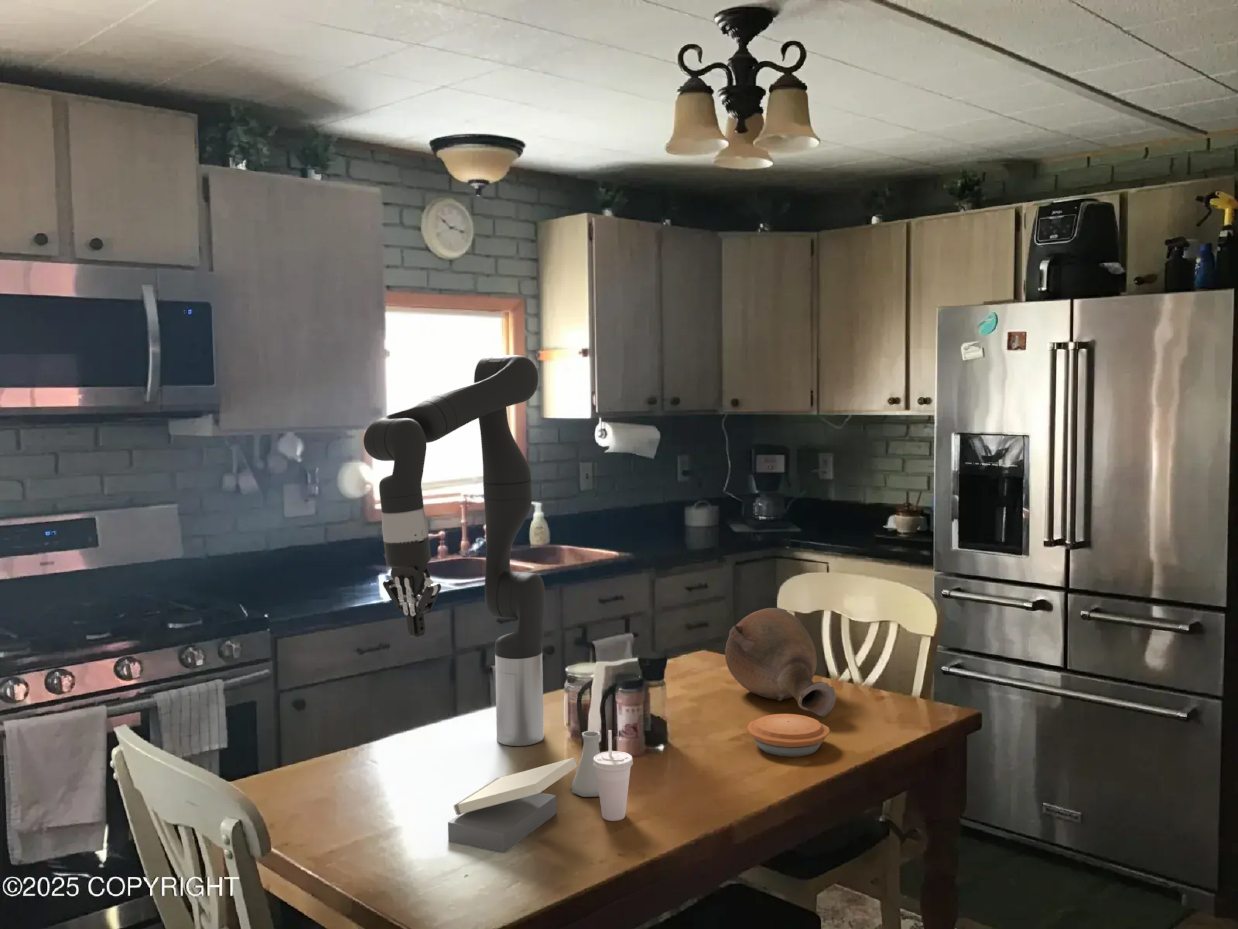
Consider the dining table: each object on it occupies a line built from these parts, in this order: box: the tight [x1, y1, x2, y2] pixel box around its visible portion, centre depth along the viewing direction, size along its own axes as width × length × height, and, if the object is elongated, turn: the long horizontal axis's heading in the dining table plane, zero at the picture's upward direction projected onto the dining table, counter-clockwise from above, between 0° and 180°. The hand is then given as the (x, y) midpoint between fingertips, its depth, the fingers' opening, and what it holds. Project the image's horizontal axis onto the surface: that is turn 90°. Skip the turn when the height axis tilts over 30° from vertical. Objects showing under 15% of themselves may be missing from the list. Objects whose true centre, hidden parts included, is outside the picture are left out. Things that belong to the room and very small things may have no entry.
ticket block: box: [447, 792, 558, 854], centre depth 166 cm, size 16×10×3 cm, turn 154°
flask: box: [571, 730, 601, 798], centre depth 180 cm, size 7×7×10 cm
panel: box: [452, 757, 578, 816], centre depth 165 cm, size 12×2×16 cm
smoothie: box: [593, 729, 634, 822], centre depth 169 cm, size 6×6×14 cm
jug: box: [724, 607, 837, 718], centre depth 229 cm, size 20×20×30 cm
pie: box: [747, 713, 831, 758], centre depth 201 cm, size 15×16×5 cm
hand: (417, 635), depth 180 cm, fingers closed
